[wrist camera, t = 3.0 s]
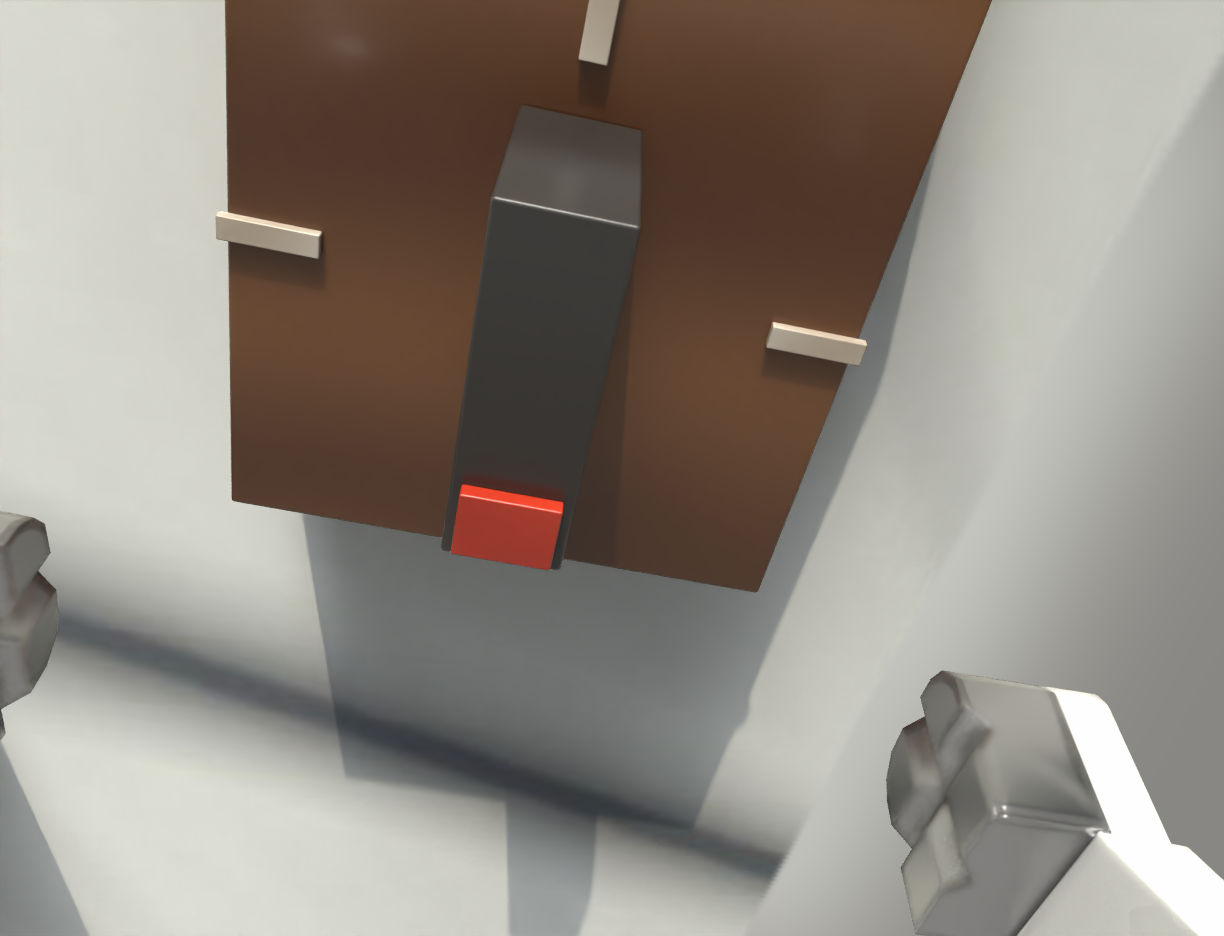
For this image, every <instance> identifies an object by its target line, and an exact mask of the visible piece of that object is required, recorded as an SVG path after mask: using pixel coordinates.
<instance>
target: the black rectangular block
mask: <svg viewBox="0 0 1224 936" xmlns="http://www.w3.org/2000/svg"><path fill="white" fill-rule="evenodd" d="M642 163H643V132H642V131H641V130H637V129H632V128H628V127H623V126H618V125H614V124H609V123H604V122H600V121H595V120H591V119H586V118H581V117H577V116H572V115H567V114H563V113H558V112H553V111H549V110H544V109H540V108H535V107H530V106H526V105H522V106H520V108H519V111H518V114H517V117H516V120H515V123H514V127H513V130H512V133H511V136H510V139H509V142H508V146H507V149H506V152H505V155H504V158H503V162H502V165H501V168H500V171H499V174H498V178H497V181H496V184H495V187H494V190H493V194H492V197H491V201H490V208H489V215H488V222H487V229H486V236H485V243H484V250H483V257H482V264H481V271H480V278H479V285H478V292H477V299H476V306H475V313H474V319H473V326H472V333H471V340H470V347H469V354H468V361H467V368H466V375H465V382H464V389H463V396H462V403H461V410H460V417H459V424H458V431H457V438H456V445H455V452H454V459H453V466H452V472H451V479H450V486H449V493H448V500H447V507H446V514H445V521H444V528H443V535H442V542H441V548H442V550H444V551H449V552H451V553H452V554H456V555H462V556H468V557H473V558H479V559H485V560H491V561H496V562H502V563H508V564H514V565H520V566H525V567H531V568H537V569H543V570H550V569H553V570H559V569H560V567H561V564H562V559H563V555H564V551H565V547H566V543H567V538H568V534H569V530H570V526H571V522H572V517H573V513H574V509H575V505H576V501H577V496H578V492H579V488H580V484H581V480H582V475H583V471H584V467H585V463H586V459H587V454H588V450H589V446H590V442H591V438H592V433H593V429H594V425H595V421H596V417H597V412H598V408H599V404H600V400H601V395H602V391H603V387H604V383H605V379H606V374H607V370H608V366H609V362H610V358H611V353H612V349H613V345H614V341H615V337H616V332H617V328H618V324H619V320H620V316H621V311H622V307H623V303H624V299H625V295H626V290H627V286H628V282H629V278H630V274H631V269H632V265H633V261H634V257H635V253H636V248H637V244H638V240H639V236H640V232H641V205H642Z"/></svg>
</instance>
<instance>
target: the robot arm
mask: <svg viewBox="0 0 1224 936" xmlns="http://www.w3.org/2000/svg"><path fill="white" fill-rule="evenodd" d="M50 553H51V552H50V547H49V542H48V537H47V532H46V527H45V524H44V523H42V522H40V521H39V520H37V519H35V518H33V517H28V516H23V515H18V514H12V513H7V512H2V511H0V741H1V739H2V738H3V736H4V735H5V728H4V723H3V717H2V712H1V709H2V708H4V707H6V706H7V705H9V704H11V703H13V702H15V701H16V700H18V699H20V698H22V697H24V696H25V695H27V694H29V693H31V691H32V690H33V688H34V686H35V685H36V683H37V681H38V680H39V678H40V676H41V674H42V673H43V671H44V669H45V668H46V666H47V663H48V660H49V657H50V654H51V651H52V648H53V645H54V642H55V639H56V636H57V626H58V615H59V608H58V600H57V592H56V589H55V588H54V587H53V586H52V585H51V584H50V583H49V582H48V581H47V580H46V579H45V578H44V577H43V576H42V575H41V574H40V573H39V571H38V570H39V569H40V567H41V566H42V564H43V563H44V562H45V560H46V559H47V557H48V556H49V554H50ZM920 698H921V702H922V706H923V710H924V714H925V717H923V718H921V719H919V720H917V721H915V722H914V723H912V724H910V725H908V726H906V727H904V728H903V729H902V731H901V733H900V735H899V737H898V739H897V741H896V744H895V745H894V748H893V750H892V752H891V758H890V762H889V768H888V773H887V780H886V781H887V803H888V809H889V813H890V819H891V824H892V826H893V827H894V828H895V830H896V831H897V832H898V833H899V834H900V835H901V837H902V838H904V840H905V841H906V842H907V843H908V845H909V846H910V847H911V848H912V850H911V851H910V853H909V855H908V857H907V858H906V860H905V861H904V863H903V865H902V866H901V871H902V876H903V881H904V885H905V890H906V894H907V899H908V904H909V908H910V913H911V917H912V922H913V926H914V931H915V934H918V935H924V936H1224V880H1223V879H1222V878H1221V877H1219V876H1218V875H1217V874H1216V873H1215V872H1214V871H1213V870H1212V869H1211V868H1210V867H1209V866H1208V865H1206V864H1205V863H1204V862H1203V861H1202V860H1201V859H1200V858H1199V857H1198V856H1197V855H1196V854H1195V853H1193V852H1192V851H1191V850H1190V849H1189V848H1188V847H1186V846H1180V845H1175V844H1171V842H1170V840H1169V838H1168V836H1167V833H1166V831H1165V829H1164V827H1163V825H1162V823H1161V820H1160V818H1159V816H1158V814H1157V812H1156V809H1155V807H1154V805H1153V803H1152V801H1151V798H1150V796H1149V794H1148V792H1147V790H1146V788H1145V785H1144V784H1143V781H1142V779H1141V777H1140V774H1139V772H1138V770H1137V768H1136V766H1135V764H1134V761H1133V759H1132V757H1131V755H1130V753H1129V751H1128V748H1127V746H1126V744H1125V742H1124V739H1123V737H1122V735H1121V733H1120V731H1119V729H1118V726H1117V725H1116V722H1115V720H1114V718H1113V715H1112V713H1111V711H1110V709H1109V707H1108V705H1107V704H1106V703H1105V702H1104V701H1103V700H1102V699H1101V698H1100V697H1099V696H1098V695H1096V694H1089V693H1083V692H1077V691H1071V690H1064V689H1058V688H1051V687H1039V686H1036V685H1030V684H1024V683H1018V682H1011V681H1004V680H999V679H993V678H986V677H980V676H974V675H967V674H961V673H955V672H949V671H941V672H939V673H938V674H937V675H936V676H934V677H933V678H931V679H930V681H929V683H928V685H927V686H926V688H925V690H924V692H923V693H922V695H921V697H920Z"/></svg>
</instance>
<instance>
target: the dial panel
mask: <svg viewBox="0 0 1224 936" xmlns="http://www.w3.org/2000/svg"><path fill="white" fill-rule="evenodd" d="M991 2H992V0H225V36H226V110H227V184H228V213H227V212H222V211H219V212H218V213H217V214H216V239H220V240H225V241H228V259H229V333H230V407H231V481H232V500H233V501H236V502H241V503H247V504H253V505H259V506H264V507H270V508H276V509H281V510H287V511H293V512H299V513H304V514H310V515H316V516H321V517H327V518H333V519H339V520H344V521H350V522H356V523H361V524H367V525H373V526H379V527H384V528H390V529H396V530H401V531H407V532H413V533H419V534H424V535H430V536H436V537H442V535H443V528H444V521H445V514H446V507H447V500H448V493H449V486H450V479H451V472H452V466H453V459H454V452H455V445H456V438H457V431H458V424H459V417H460V410H461V403H462V396H463V389H464V382H465V375H466V368H467V361H468V354H469V347H470V340H471V333H472V326H473V319H474V313H475V306H476V299H477V292H478V285H479V278H480V271H481V264H482V257H483V250H484V243H485V236H486V229H487V222H488V215H489V208H490V201H491V197H492V194H493V190H494V187H495V184H496V181H497V178H498V174H499V171H500V168H501V165H502V162H503V158H504V155H505V152H506V149H507V146H508V142H509V139H510V136H511V133H512V130H513V127H514V123H515V120H516V117H517V114H518V111H519V108H520V106H522V105H526V106H530V107H535V108H540V109H544V110H549V111H553V112H558V113H563V114H567V115H572V116H577V117H581V118H586V119H591V120H595V121H600V122H604V123H609V124H614V125H618V126H623V127H628V128H632V129H637V130H641V131H642V132H643V163H642V205H641V232H640V236H639V240H638V244H637V248H636V253H635V257H634V261H633V265H632V269H631V274H630V278H629V282H628V286H627V290H626V295H625V299H624V303H623V307H622V311H621V316H620V320H619V324H618V328H617V332H616V337H615V341H614V345H613V349H612V353H611V358H610V362H609V366H608V370H607V374H606V379H605V383H604V387H603V391H602V395H601V400H600V404H599V408H598V412H597V417H596V421H595V425H594V429H593V433H592V438H591V442H590V446H589V450H588V454H587V459H586V463H585V467H584V471H583V475H582V480H581V484H580V488H579V492H578V496H577V501H576V505H575V509H574V513H573V517H572V522H571V526H570V530H569V534H568V538H567V543H566V547H565V551H564V555H563V559H567V560H573V561H579V562H584V563H590V564H596V565H602V566H607V567H613V568H619V569H624V570H630V571H636V572H642V573H647V574H653V575H659V576H664V577H670V578H676V579H682V580H687V581H693V582H699V583H704V584H710V585H716V586H722V587H727V588H733V589H739V590H745V591H750V592H757V591H758V590H759V587H760V585H761V582H762V580H763V577H764V575H765V572H766V570H767V567H768V564H769V562H770V559H771V557H772V554H773V552H774V549H775V547H776V544H777V542H778V539H779V537H780V534H781V532H782V529H783V527H784V524H785V522H786V519H787V517H788V514H789V511H790V509H791V506H792V504H793V501H794V499H795V496H796V494H797V491H798V489H799V486H800V484H801V481H802V479H803V476H804V474H805V471H806V469H807V466H808V464H809V461H810V459H811V456H812V453H813V451H814V448H815V446H816V443H817V441H818V438H819V436H820V433H821V431H822V428H823V426H824V423H825V421H826V418H827V416H828V413H829V411H830V408H831V406H832V403H833V400H834V398H835V395H836V393H837V390H838V388H839V385H840V383H841V380H842V378H843V375H844V373H845V370H846V368H847V365H848V364H851V365H856V366H859V365H860V362H861V360H862V357H863V355H864V352H865V350H866V348H867V343H866V341H865V340H861V339H858V337H859V335H860V332H861V330H862V327H863V325H864V322H865V320H866V317H867V315H868V312H869V310H870V307H871V305H872V302H873V300H874V297H875V294H876V292H877V289H878V287H879V284H880V282H881V279H882V277H883V274H884V272H885V269H886V267H887V264H888V262H889V259H890V257H891V254H892V252H893V249H894V247H895V244H896V241H897V239H898V236H899V234H900V231H901V229H902V226H903V224H904V221H905V219H906V216H907V214H908V211H909V209H910V206H911V204H912V201H913V199H914V196H915V194H916V191H917V189H918V186H919V183H920V181H921V178H922V176H923V173H924V171H925V168H926V166H927V163H928V161H929V158H930V156H931V153H932V151H933V148H934V146H935V143H936V141H937V138H938V136H939V133H940V130H941V128H942V125H943V123H944V120H945V118H946V115H947V113H948V110H949V108H950V105H951V103H952V100H953V98H954V95H955V93H956V90H957V88H958V85H959V83H960V80H961V77H962V75H963V72H964V70H965V67H966V65H967V62H968V60H969V57H970V55H971V52H972V50H973V47H974V45H975V42H976V40H977V37H978V35H979V32H980V30H981V27H982V24H983V22H984V19H985V17H986V14H987V12H988V9H989V7H990V4H991Z"/></svg>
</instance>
